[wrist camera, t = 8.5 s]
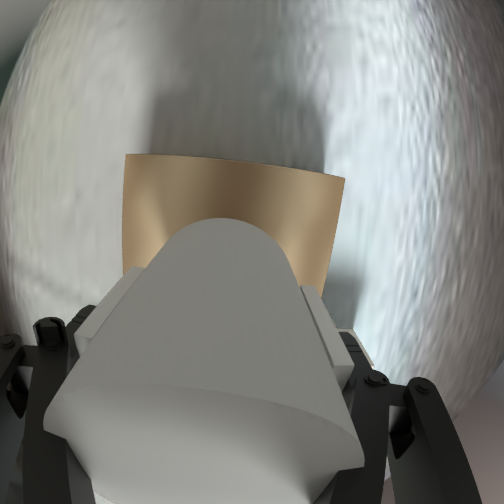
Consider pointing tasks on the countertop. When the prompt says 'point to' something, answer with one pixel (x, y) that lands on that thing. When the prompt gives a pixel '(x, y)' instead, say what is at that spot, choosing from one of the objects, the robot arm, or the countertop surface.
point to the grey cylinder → (208, 382)
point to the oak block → (230, 206)
